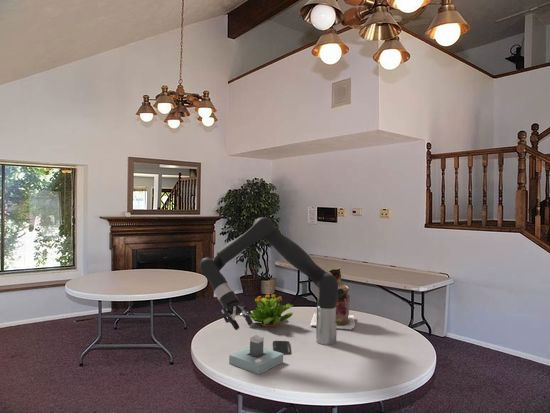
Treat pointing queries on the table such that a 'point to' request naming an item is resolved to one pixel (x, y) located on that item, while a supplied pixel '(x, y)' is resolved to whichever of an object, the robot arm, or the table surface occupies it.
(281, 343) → the phone
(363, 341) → the table surface
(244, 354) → the socket
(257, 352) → the plug
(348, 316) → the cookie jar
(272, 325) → the green flowering plant
